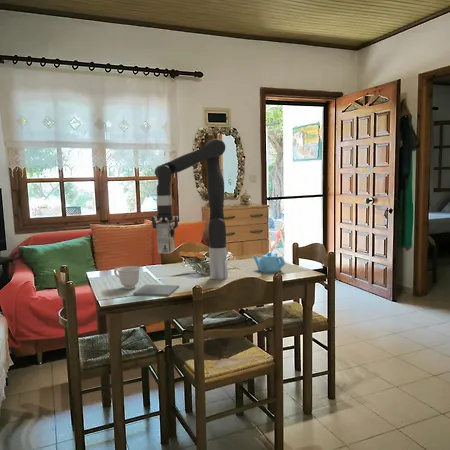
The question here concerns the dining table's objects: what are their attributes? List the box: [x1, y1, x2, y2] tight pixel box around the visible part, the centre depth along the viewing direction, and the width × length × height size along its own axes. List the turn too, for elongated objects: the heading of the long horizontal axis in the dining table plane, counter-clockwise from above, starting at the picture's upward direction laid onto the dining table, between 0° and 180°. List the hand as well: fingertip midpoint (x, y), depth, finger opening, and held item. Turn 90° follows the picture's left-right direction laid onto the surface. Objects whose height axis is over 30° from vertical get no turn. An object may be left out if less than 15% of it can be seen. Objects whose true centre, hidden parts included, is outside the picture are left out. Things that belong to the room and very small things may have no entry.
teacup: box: [113, 265, 142, 290], centre depth 220 cm, size 12×15×10 cm
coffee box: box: [156, 219, 176, 254], centre depth 222 cm, size 9×6×16 cm
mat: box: [132, 284, 180, 297], centre depth 212 cm, size 18×16×1 cm
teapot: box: [253, 251, 286, 274], centre depth 251 cm, size 15×15×11 cm
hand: (165, 236), depth 222 cm, fingers closed on coffee box, 6 cm apart
